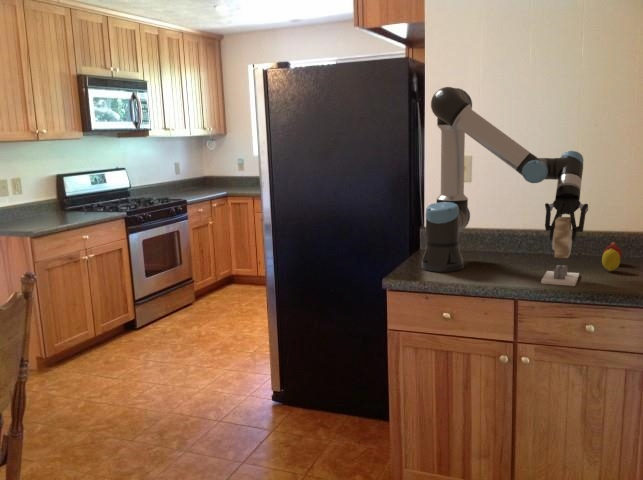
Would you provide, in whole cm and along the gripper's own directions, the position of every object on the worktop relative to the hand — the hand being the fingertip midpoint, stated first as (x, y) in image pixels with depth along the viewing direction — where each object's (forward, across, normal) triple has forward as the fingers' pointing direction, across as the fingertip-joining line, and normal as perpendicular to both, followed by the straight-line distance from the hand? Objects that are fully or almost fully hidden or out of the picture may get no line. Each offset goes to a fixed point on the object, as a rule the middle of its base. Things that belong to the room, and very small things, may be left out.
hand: (561, 247), depth 187 cm
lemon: (-6, -14, -23) cm, 27 cm away
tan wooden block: (0, 0, -5) cm, 5 cm away
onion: (-15, -14, -31) cm, 37 cm away
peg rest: (+5, 0, -11) cm, 12 cm away
